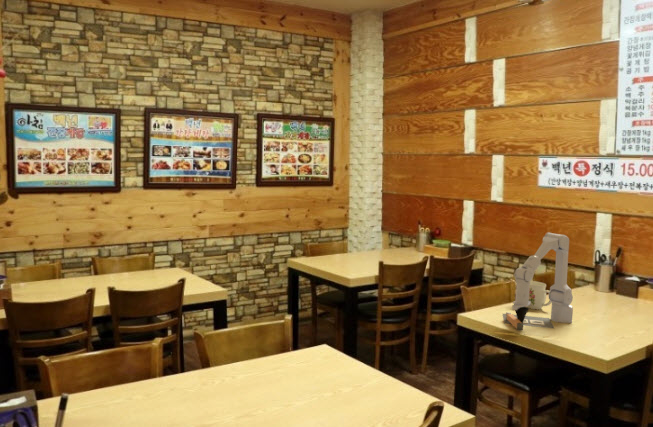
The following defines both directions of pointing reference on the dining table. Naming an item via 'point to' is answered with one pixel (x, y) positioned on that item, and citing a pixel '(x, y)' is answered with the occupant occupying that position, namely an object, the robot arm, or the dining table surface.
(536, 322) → the label
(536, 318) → the board
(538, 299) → the white floral mug
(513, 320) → the swing bar
